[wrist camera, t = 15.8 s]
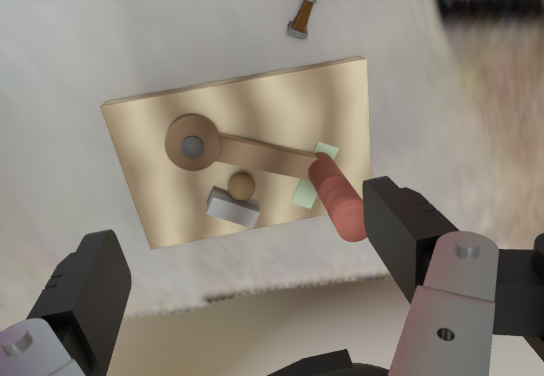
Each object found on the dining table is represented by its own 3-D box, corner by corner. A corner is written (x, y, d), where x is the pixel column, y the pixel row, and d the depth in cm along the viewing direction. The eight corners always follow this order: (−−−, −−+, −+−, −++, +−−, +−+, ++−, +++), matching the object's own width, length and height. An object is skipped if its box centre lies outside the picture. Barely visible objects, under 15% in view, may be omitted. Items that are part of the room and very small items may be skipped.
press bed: (153, 239, 44) (147, 264, 40) (105, 101, 37) (92, 114, 33) (365, 197, 46) (381, 217, 42) (359, 56, 39) (377, 63, 34)
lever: (163, 157, 38) (143, 219, 27) (171, 108, 36) (153, 154, 25) (324, 189, 42) (362, 255, 31) (340, 146, 40) (386, 200, 29)
